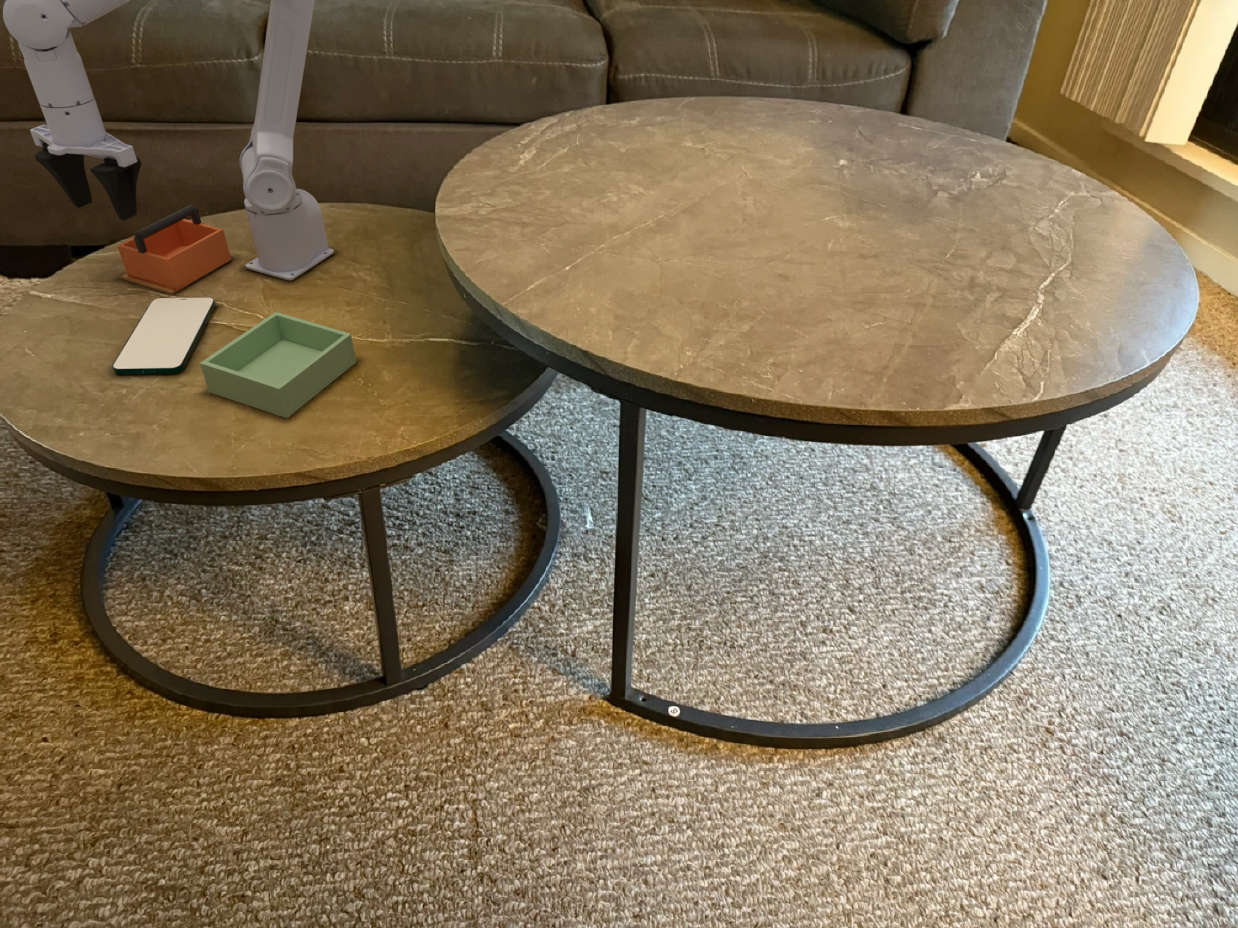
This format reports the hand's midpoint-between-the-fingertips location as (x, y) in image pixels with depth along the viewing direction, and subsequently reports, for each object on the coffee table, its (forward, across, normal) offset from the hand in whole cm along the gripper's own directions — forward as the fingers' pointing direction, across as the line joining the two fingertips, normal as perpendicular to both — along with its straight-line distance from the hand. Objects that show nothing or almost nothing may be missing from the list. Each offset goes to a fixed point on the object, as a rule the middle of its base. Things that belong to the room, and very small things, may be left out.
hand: (106, 210), depth 114 cm
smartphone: (+10, +14, -8) cm, 19 cm away
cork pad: (+10, +2, +6) cm, 12 cm away
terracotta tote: (+10, +3, +6) cm, 12 cm away
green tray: (+10, +32, -8) cm, 35 cm away
